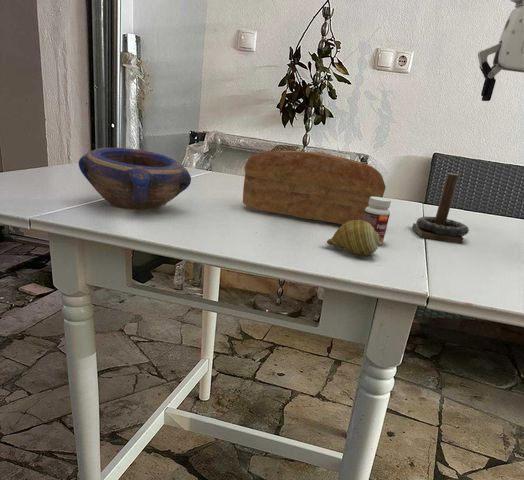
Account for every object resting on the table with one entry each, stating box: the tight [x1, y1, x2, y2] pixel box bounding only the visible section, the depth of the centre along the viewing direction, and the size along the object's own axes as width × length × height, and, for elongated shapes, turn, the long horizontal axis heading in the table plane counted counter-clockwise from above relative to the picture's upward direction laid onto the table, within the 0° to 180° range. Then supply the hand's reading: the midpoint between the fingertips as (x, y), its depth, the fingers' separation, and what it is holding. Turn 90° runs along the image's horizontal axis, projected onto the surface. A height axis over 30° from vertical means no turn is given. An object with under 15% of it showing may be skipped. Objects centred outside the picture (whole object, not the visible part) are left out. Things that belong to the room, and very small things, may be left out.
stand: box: [411, 172, 464, 244], centre depth 110 cm, size 9×9×13 cm
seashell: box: [326, 220, 382, 258], centre depth 89 cm, size 10×7×8 cm
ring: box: [415, 216, 470, 237], centre depth 112 cm, size 11×11×2 cm
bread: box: [242, 149, 386, 226], centre depth 111 cm, size 12×31×14 cm, turn 78°
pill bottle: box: [363, 197, 392, 246], centre depth 97 cm, size 5×5×8 cm
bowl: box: [78, 147, 192, 211], centre depth 98 cm, size 18×18×10 cm
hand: (508, 103), depth 103 cm, fingers open, 9 cm apart
